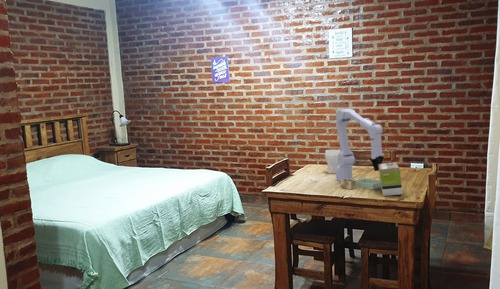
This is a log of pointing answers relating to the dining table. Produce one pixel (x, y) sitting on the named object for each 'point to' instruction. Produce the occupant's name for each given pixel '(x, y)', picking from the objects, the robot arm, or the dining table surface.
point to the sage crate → (368, 183)
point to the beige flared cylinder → (332, 160)
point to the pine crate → (348, 184)
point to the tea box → (390, 179)
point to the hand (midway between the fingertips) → (377, 170)
